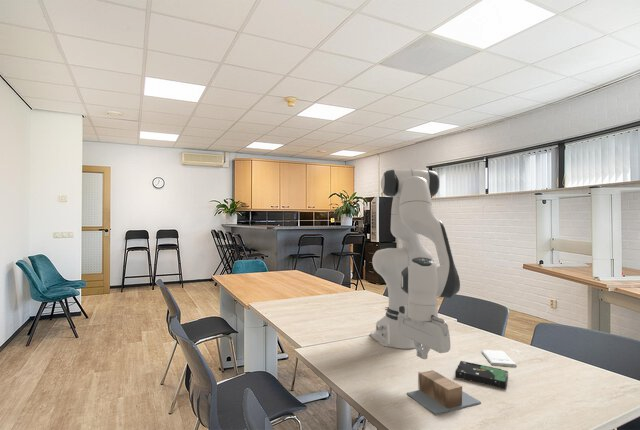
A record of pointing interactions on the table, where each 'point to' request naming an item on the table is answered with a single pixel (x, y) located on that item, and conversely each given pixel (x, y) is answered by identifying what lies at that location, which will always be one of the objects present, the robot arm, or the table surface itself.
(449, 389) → the walnut block
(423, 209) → the robot arm
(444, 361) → the table surface
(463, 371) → the disk drive
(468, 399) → the rubber mat
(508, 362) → the external hard drive
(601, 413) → the table surface
